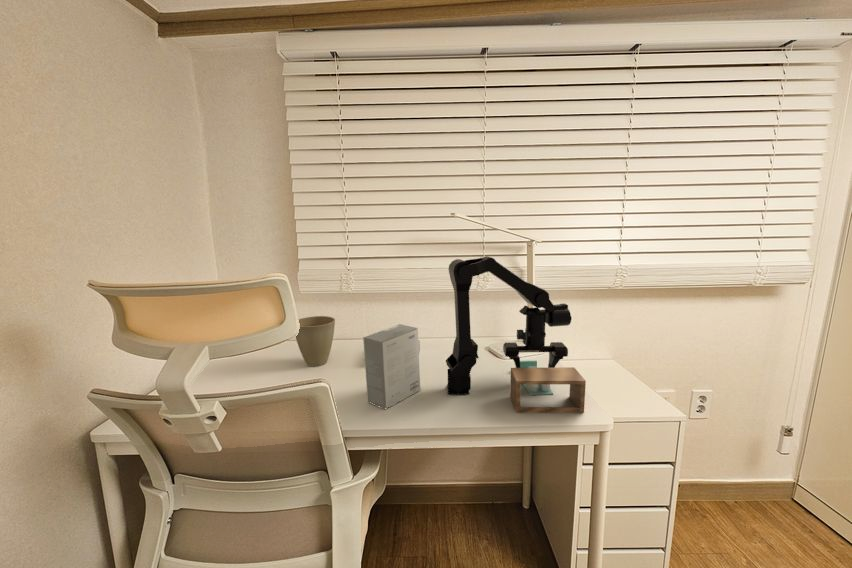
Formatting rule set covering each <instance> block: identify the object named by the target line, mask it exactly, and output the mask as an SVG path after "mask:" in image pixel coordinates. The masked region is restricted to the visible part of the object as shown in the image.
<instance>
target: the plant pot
mask: <svg viewBox="0 0 852 568" xmlns="http://www.w3.org/2000/svg"><path fill="white" fill-rule="evenodd" d="M299 323H300V329H299V333H298V335H297V336H296V337H295V339H296V343H297V346H298V349H299V351H300V354H301V356H302V358H303V360H304V363H305V364H306V366H308V367H320V365H321V366H324V365H325V364H327V362H328V360H329V356H330V353H331V350H332V346H333V341H334V334H335V326H336V318H334V317H331V316H325V315H315V316H308V317H301V318H299ZM323 364H324V365H323Z"/></svg>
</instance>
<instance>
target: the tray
mask: <svg viewBox="0 0 852 568" xmlns="http://www.w3.org/2000/svg"><path fill="white" fill-rule="evenodd" d="M520 368H538V361H537V360H535V359H533V360H520ZM523 386H524V388H525V390H526V392H527V393H528V395H529V396H548V395H549V396H550V395H551V396H552V395H554V392H553V391H552V389H551V384H536V385H523Z"/></svg>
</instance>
